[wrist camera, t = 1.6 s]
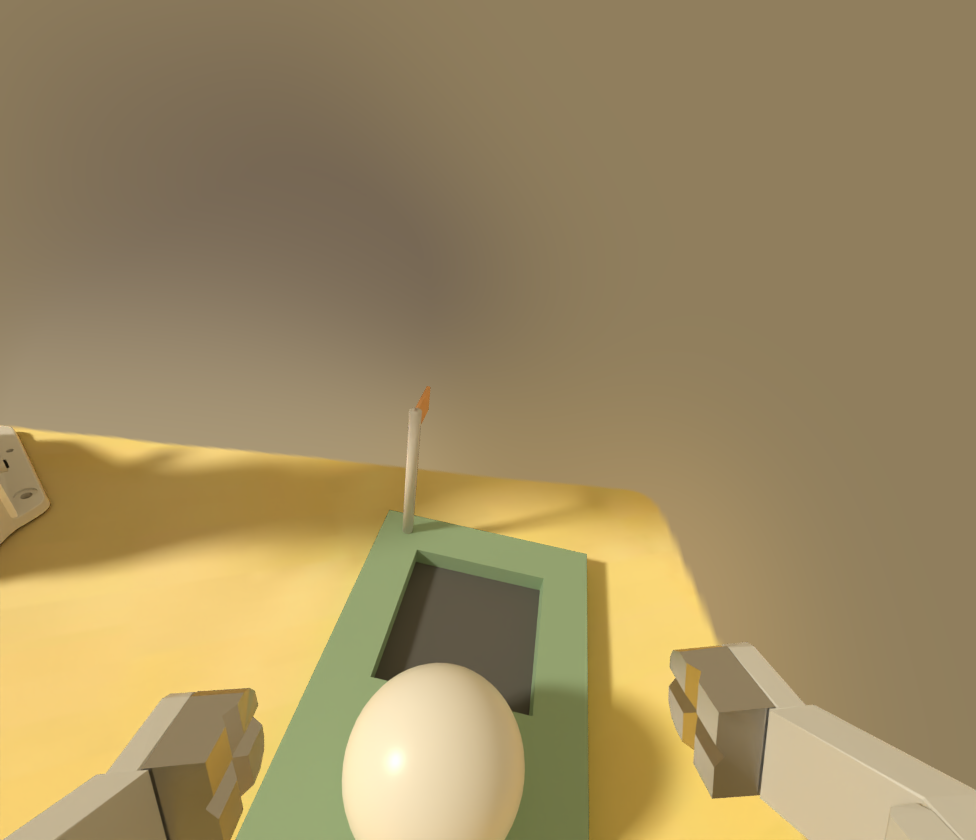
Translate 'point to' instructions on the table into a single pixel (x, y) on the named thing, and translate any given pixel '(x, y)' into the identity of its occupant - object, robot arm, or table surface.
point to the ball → (434, 759)
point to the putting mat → (445, 639)
